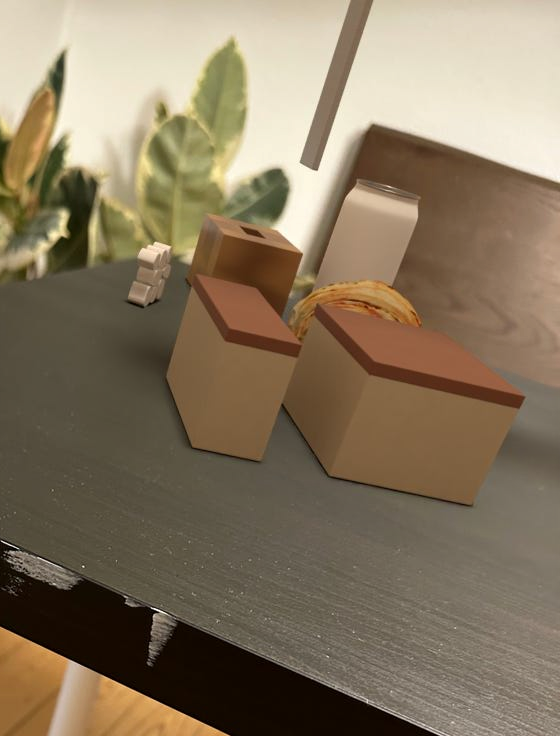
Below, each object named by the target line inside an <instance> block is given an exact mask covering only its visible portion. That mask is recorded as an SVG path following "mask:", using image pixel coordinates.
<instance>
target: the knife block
mask: <svg viewBox="0 0 560 736" xmlns="http://www.w3.org/2000/svg"><path fill="white" fill-rule="evenodd" d="M192 256H193V257H192V260H191V264H190V267H189V270H188V274H187V278H186V280H187V282H188V284H189V285H190V288H191V287H192V284H193V280H194V277H195V274H199V275H204V276H208V277H212V278H216V279H220V280H224V281H229V282H233V283H237V284H241V285H245V286H249V287H254V288H256V289H257V290H258V291H259V292H260V293H261V295H262V296H263V297H264V298H265V299H266V301H267V302H268V303H269V304H270V306H271V307H272V308H273V309H274V311H275V312H276V313H277V314H278V315H279V317H280V318H281V319H282V318H283V316H284V312H285V309H286V307H287V304H288V300H289V297H290V294H291V292H292V288H293V285H294V283H295V279H296V277H297V274H298V271H299V268H300V265H301V262H302V259H303V256H304V252H302V251H301V250H300V249H299V248H298V247H296V245H294V244H293V242H291V241H290V240H289V239H287V237H285V235H283V234H282V233H281V232H280V231H279V230H278V229H277V230H276V229H272V228H270V227H265V226H260V225H258V224H257V225H256V224H253V223H249V222H246V221H241V220H237V219H233V218H229V217H225V216H221V215H217V214H213V213H209V212H205V214H204V217H203V221H202V224H201V229H200V231H199V235H198V238H197V242H196V246H195V250H194V253H193V255H192Z"/></svg>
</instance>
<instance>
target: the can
mask: <svg viewBox="0 0 560 736" xmlns="http://www.w3.org/2000/svg"><path fill="white" fill-rule="evenodd" d="M421 199H422V198H421V196H419V195H416V194H414V193H412V192H409V191H405V190H403V189H401V188H400V189H399V188H396V187H393V186H389V185H386V184H382V183H378V182H374V181H372V180H371V181H370V180H366V179H361V178H357V179H356V183H355V185H354V187H353V188H352V189H351V190H350V191H349V192H348V194H347V195H346V196H345V198H344V200H343V203H342V206H341V207H340V211H339V214H338V216H337V220H336V222H335V225H334V227H333V231H332V233H331V236H330V239H329V243H328V245H327V247H326V250H325V253H324V256H323V259H322V262H321V264H320V268H319V270H318V273H317V276H316V279H315V281H314V284H313V288H312V290H311V293H312V292H314V291H316V290H318V289H320V288H322V287H325V286H327V285H329V284H336V283H340V282H344V281H348V282H357V281H360V280H363V279H364V280H370V281H380V282H383V283H385V284H387V285H388V286H391V287H393V284H394V283H395V282H394V281H395V279H396V277H397V274H398V271H399V270H400V266H401V264H402V261H403V259H404V256H405V254H406V251H407V248H408V246H409V244H410V241H411V238H412V236H413V233H414V230H415V228H416V225H417V222H418V219H419V210H418V209H419V201H420V200H421Z"/></svg>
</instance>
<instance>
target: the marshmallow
mask: <svg viewBox="0 0 560 736" xmlns="http://www.w3.org/2000/svg"><path fill="white" fill-rule="evenodd" d="M173 250H174V247H173V246H171V245H168V244H164V243H161V242H158V241H154V243H153V244H148V245H147V246H146V248H144V247H142V248H141V249H140V251H139V253H138V254H137V257H136V265H137V266H138V267H139V268H138V269H137V273H136V278H135V279H136V280H133V282H132V284H131V287H130V289H129V293H128V296H127V301H128V302H129V303H133V304H136V305H138V306H141V307H144V308H146V307H147V306H148V305H149V303H153V302H154V301H155V300H159V299H160V298H161V297H162V294H163V291H164V287H165V284H166V279H168V278H169V276H170V273H171V270H172V265H171V264H170V262H171V259H172V255H173Z"/></svg>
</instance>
